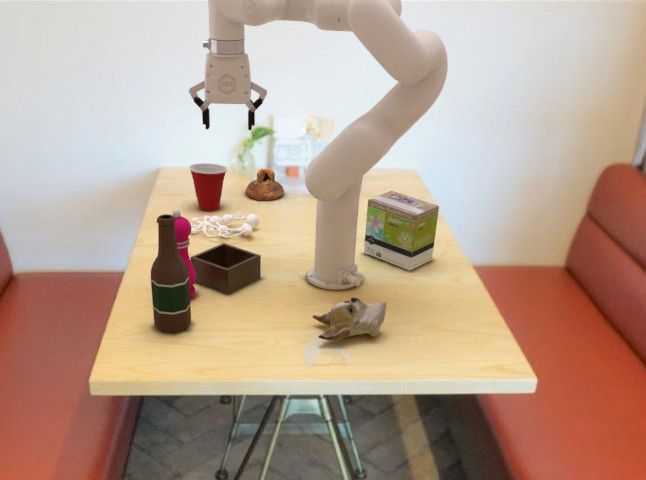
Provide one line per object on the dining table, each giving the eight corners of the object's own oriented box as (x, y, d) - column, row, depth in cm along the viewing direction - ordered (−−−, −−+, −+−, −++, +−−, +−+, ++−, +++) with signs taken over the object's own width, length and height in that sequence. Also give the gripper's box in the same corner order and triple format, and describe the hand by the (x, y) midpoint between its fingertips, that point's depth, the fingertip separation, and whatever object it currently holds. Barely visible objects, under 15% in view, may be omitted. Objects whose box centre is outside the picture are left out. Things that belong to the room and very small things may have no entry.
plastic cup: (236, 206, 233) (235, 165, 226) (213, 216, 225) (211, 174, 219) (206, 198, 238) (204, 158, 231) (183, 209, 230) (180, 167, 223)
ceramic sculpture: (392, 306, 160) (317, 312, 159) (390, 344, 165) (318, 350, 164) (381, 284, 169) (311, 290, 168) (380, 321, 174) (312, 326, 173)
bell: (288, 190, 246) (288, 166, 242) (278, 202, 236) (278, 178, 232) (251, 186, 248) (251, 162, 244) (240, 198, 238) (240, 174, 234)
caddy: (260, 278, 191) (260, 255, 188) (228, 294, 183) (227, 270, 180) (224, 265, 197) (223, 242, 194) (191, 280, 189) (190, 257, 186)
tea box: (362, 254, 205) (366, 198, 197) (386, 244, 211) (391, 189, 203) (410, 272, 197) (416, 213, 189) (433, 260, 203) (440, 203, 195)
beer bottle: (175, 337, 166) (168, 226, 153) (146, 327, 169) (137, 218, 156) (198, 323, 171) (193, 215, 158) (170, 313, 175) (163, 207, 162)
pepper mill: (181, 304, 179) (176, 218, 168) (158, 295, 182) (152, 210, 171) (203, 294, 183) (200, 209, 173) (180, 285, 187) (176, 202, 176)
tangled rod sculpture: (177, 241, 212) (176, 227, 210) (195, 218, 223) (193, 204, 221) (248, 247, 209) (247, 233, 206) (262, 224, 220) (261, 209, 217)
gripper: (185, 49, 170) (189, 131, 179) (266, 51, 170) (266, 133, 179) (188, 43, 176) (192, 123, 185) (267, 45, 176) (267, 125, 185)
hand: (228, 128), depth 182 cm, fingers open, 9 cm apart
